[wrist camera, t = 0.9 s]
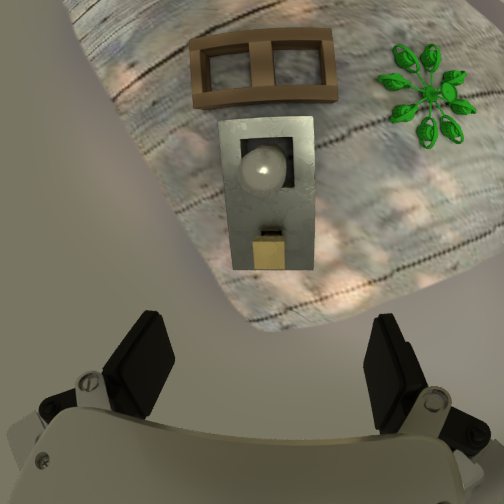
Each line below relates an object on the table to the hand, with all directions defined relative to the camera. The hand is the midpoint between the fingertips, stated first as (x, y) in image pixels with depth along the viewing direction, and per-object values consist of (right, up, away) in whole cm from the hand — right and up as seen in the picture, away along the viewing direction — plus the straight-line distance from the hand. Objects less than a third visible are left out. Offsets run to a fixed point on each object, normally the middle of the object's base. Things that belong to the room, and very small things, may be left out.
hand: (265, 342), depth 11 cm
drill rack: (+1, +26, +16) cm, 31 cm away
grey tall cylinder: (+2, +16, +21) cm, 26 cm away
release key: (+2, +6, +23) cm, 24 cm away
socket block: (+2, +12, +23) cm, 26 cm away
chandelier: (+22, +25, +14) cm, 36 cm away
